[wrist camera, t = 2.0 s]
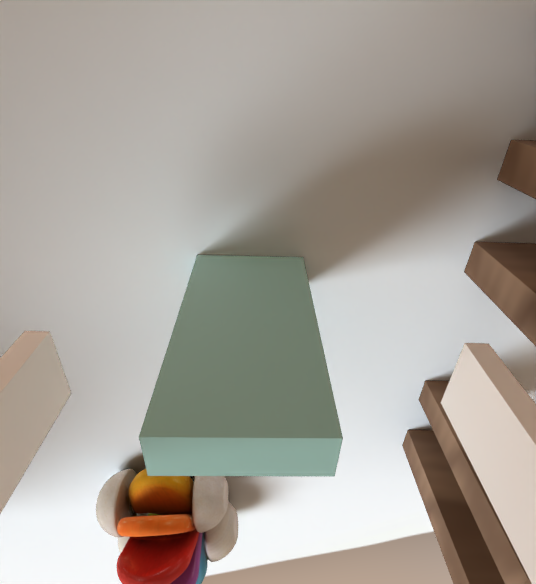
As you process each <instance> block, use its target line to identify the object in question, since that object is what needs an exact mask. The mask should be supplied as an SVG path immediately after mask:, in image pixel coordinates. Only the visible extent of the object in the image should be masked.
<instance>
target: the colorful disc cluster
mask: <svg viewBox="0 0 536 584" xmlns="http://www.w3.org/2000/svg"><path fill="white" fill-rule="evenodd" d="M96 515H97V519H98V522H99V524H100V526H101V527H102V528H103V530H104V531H105V532H107V533H108V534H110V535H112V536H114V537H118V547H119V551H120V553H121V554H120V556H119V558H118V562H117V573H118V576H119V579H120V581H121V582H122V584H201V583H202V581H203V579H204V577H205V574H206V571H207V560H210V561H211V562H215V561H218V560H220V559H222V558H224V557H225V556H226V555H228V554H229V552H230V551H231V550H232V549H233V547H234V545H235V544H236V541H237V537H238V517H237V512H236V510H235V508H234V507H233V505H232V504H231V503H230V502H229V501H228V483H227V480H226V478H225V476H195V480H194V482H193V480H192V479H191V478H190V477H189V476H148V475H147V470H146V469H144V470H142V471H141V472H139V473H138V474H136V472H135V471H134V470H132V469H126V470H123V471H120V472H118V473H117V474H115V475H113V476H112V477H111V478H110V479H109V480H108V481H107V482H106V483H105V484H104V486H103V487H102V489H101V491H100V493H99V495H98V498H97V504H96Z"/></svg>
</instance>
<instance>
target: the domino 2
mask: <svg viewBox="0 0 536 584" xmlns="http://www.w3.org/2000/svg"><path fill="white" fill-rule="evenodd" d="M402 446H403V448H404V451H405V454H406V457H407V459H408V462H409V465H410V467H411V470H412V473H413V475H414V478H415V481H416V484H417V486H418V489H419V492H420V494H421V497H422V500H423V502H424V505H425V508H426V511H427V513H428V516H429V519H430V521H431V524H432V527H433V529H434V532H435V535H436V537H437V540H438V543H439V545H440V548H441V551H442V554H443V556H444V559H445V562H446V565H447V567H448V570H449V572H450V575H451V578H452V580H453V583H454V584H505V583H504V581H503V579H502V576H501V574H500V572H499V570H498V568H497V566H496V564H495V562H494V559H493V557H492V555H491V553H490V551H489V549H488V547H487V544H486V542H485V540H484V538H483V536H482V534H481V532H480V529H479V527H478V525H477V523H476V521H475V519H474V517H473V514H472V512H471V510H470V508H469V506H468V504H467V502H466V499H465V497H464V495H463V493H462V491H461V489H460V487H459V485H458V482H457V480H456V478H455V476H454V474H453V472H452V470H451V467H450V465H449V463H448V461H447V459H446V457H445V455H444V452H443V450H442V448H441V446H440V444H439V442H438V440H437V437H436V435H435V433H434V431H433V430H408V431H407V434H406V437H405V440H404V442H403V445H402Z"/></svg>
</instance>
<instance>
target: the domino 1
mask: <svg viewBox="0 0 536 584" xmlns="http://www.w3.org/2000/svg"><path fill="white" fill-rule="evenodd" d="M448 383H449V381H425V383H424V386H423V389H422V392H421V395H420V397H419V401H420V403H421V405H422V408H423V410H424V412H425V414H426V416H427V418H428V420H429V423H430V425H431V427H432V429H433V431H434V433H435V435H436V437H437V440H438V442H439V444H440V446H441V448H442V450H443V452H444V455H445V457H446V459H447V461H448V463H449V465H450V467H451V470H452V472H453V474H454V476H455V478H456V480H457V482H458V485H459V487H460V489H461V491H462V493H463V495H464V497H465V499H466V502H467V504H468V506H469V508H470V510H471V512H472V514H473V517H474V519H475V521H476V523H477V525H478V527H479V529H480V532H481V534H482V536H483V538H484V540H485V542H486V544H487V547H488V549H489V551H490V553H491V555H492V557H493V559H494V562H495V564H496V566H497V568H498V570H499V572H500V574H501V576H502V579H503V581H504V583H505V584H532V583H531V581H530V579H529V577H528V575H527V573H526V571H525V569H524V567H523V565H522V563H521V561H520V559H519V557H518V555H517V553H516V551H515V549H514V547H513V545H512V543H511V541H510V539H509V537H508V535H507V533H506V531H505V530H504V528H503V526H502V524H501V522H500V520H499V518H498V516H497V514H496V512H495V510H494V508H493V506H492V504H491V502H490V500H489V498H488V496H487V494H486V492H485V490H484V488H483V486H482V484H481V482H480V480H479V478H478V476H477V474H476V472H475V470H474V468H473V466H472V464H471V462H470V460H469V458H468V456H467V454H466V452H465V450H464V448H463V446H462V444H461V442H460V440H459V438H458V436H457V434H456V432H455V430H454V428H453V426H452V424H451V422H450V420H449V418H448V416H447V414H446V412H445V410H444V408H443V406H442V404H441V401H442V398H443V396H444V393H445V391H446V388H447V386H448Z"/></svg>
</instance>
